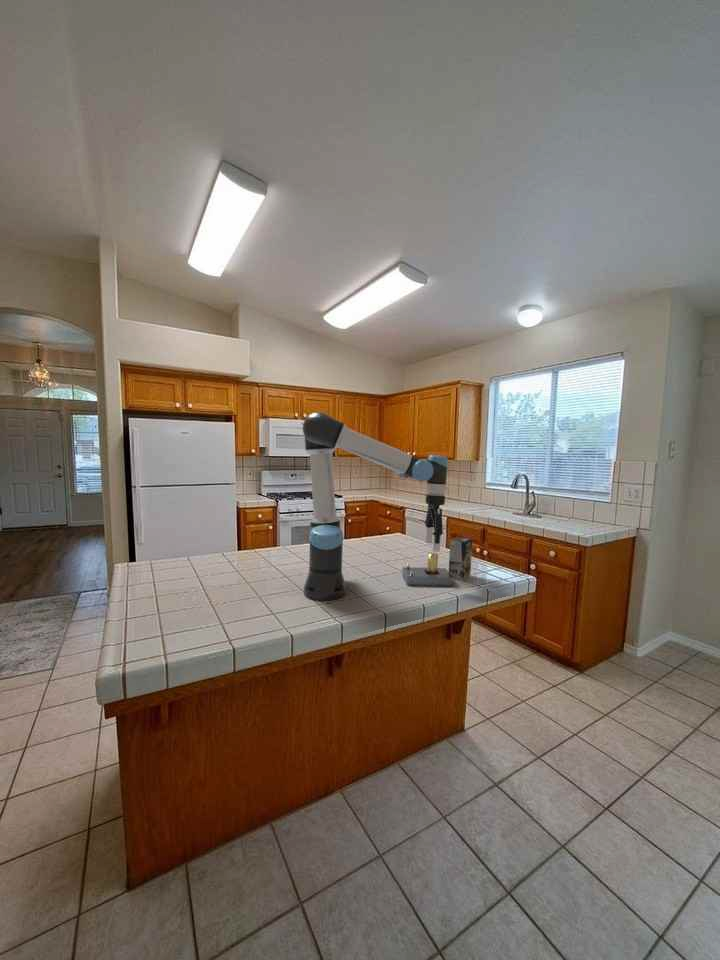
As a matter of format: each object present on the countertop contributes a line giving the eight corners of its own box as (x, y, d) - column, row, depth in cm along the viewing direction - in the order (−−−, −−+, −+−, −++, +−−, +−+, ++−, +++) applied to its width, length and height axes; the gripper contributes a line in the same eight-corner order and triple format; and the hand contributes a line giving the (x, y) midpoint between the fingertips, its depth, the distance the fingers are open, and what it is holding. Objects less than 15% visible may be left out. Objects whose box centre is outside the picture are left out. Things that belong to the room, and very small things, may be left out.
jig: (406, 585, 149) (407, 572, 149) (402, 575, 161) (402, 563, 161) (452, 586, 150) (453, 573, 150) (445, 576, 162) (445, 564, 162)
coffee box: (462, 581, 156) (464, 542, 155) (447, 578, 160) (449, 539, 159) (471, 576, 163) (473, 538, 162) (456, 572, 167) (458, 536, 166)
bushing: (437, 582, 154) (438, 555, 153) (427, 582, 154) (428, 555, 153) (435, 579, 158) (436, 552, 157) (425, 579, 158) (426, 552, 157)
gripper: (453, 498, 141) (449, 555, 142) (437, 491, 166) (434, 540, 167) (433, 497, 141) (429, 554, 142) (420, 490, 165) (417, 539, 167)
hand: (432, 547), depth 155 cm, fingers open, 13 cm apart
